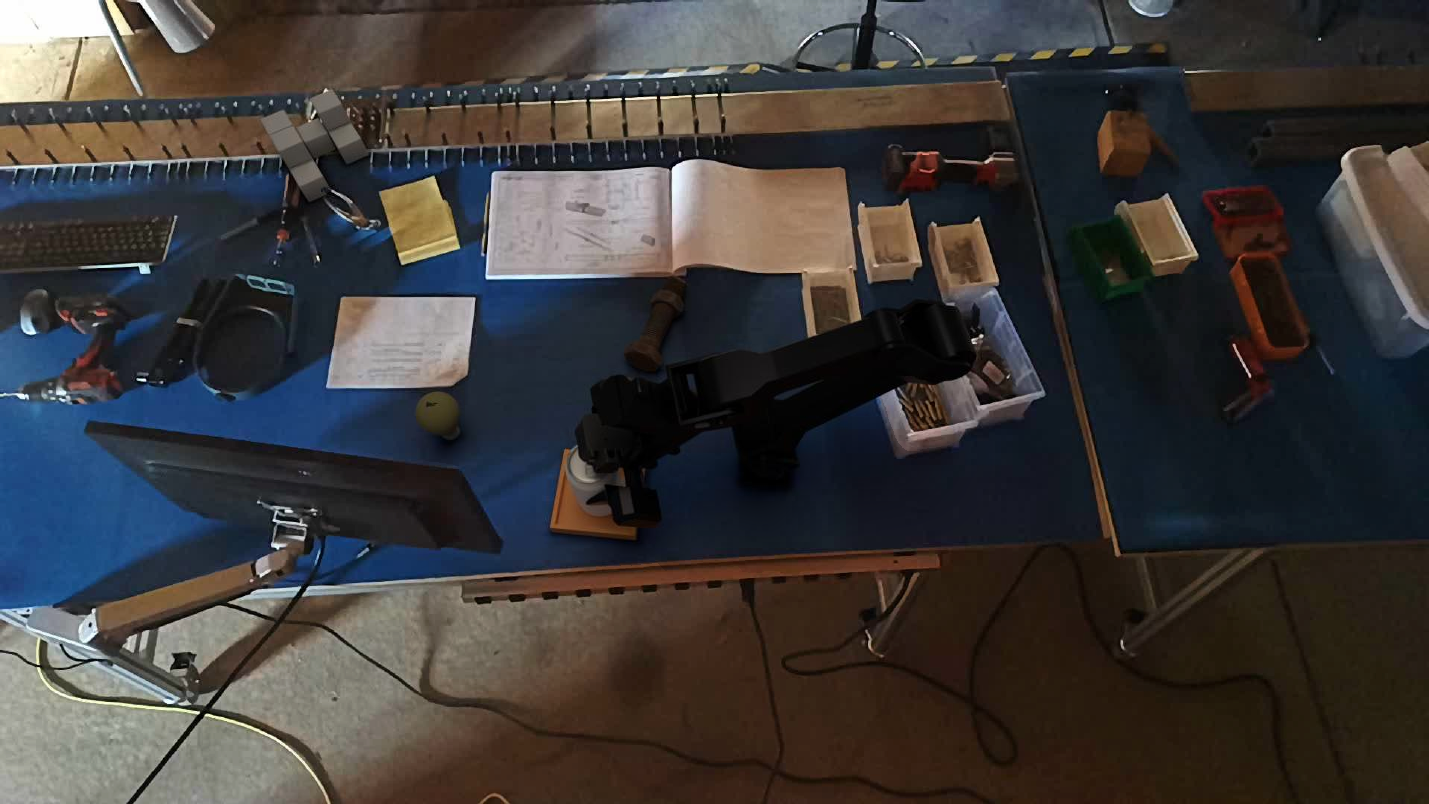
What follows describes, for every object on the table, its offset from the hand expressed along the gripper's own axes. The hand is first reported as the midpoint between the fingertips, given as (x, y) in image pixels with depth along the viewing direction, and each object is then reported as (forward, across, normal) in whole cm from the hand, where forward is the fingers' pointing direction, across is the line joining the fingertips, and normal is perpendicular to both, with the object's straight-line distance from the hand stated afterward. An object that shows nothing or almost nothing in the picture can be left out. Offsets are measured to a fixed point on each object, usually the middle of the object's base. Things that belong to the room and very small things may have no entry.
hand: (584, 479), depth 109 cm
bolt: (-5, -24, +15) cm, 29 cm away
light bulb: (+18, -13, -7) cm, 23 cm away
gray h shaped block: (+28, -67, -18) cm, 75 cm away
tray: (+4, 0, +6) cm, 7 cm away
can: (+4, 0, +6) cm, 7 cm away
